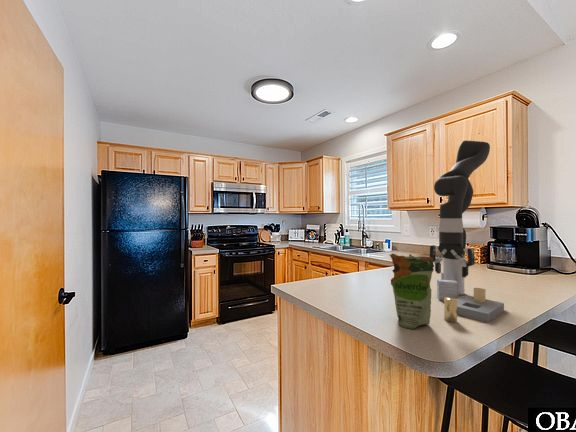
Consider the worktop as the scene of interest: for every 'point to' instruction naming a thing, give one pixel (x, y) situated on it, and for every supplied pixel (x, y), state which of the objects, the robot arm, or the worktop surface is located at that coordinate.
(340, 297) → the worktop surface
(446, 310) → the brass bushing
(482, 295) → the jig plate
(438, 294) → the medicine box
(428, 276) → the pouch
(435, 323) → the worktop surface
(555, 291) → the worktop surface
